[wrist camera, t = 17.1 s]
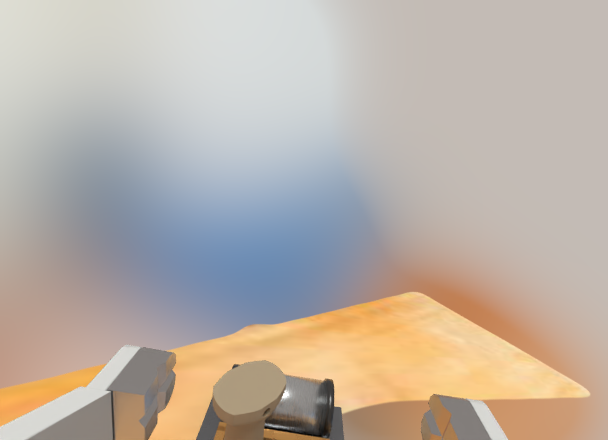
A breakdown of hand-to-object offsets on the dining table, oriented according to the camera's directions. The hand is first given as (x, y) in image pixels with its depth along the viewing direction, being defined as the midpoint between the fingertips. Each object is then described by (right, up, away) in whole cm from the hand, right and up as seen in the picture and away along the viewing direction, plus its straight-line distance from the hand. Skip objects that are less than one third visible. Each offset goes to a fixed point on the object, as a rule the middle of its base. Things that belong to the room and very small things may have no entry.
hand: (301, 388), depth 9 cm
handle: (-7, -23, +20) cm, 32 cm away
